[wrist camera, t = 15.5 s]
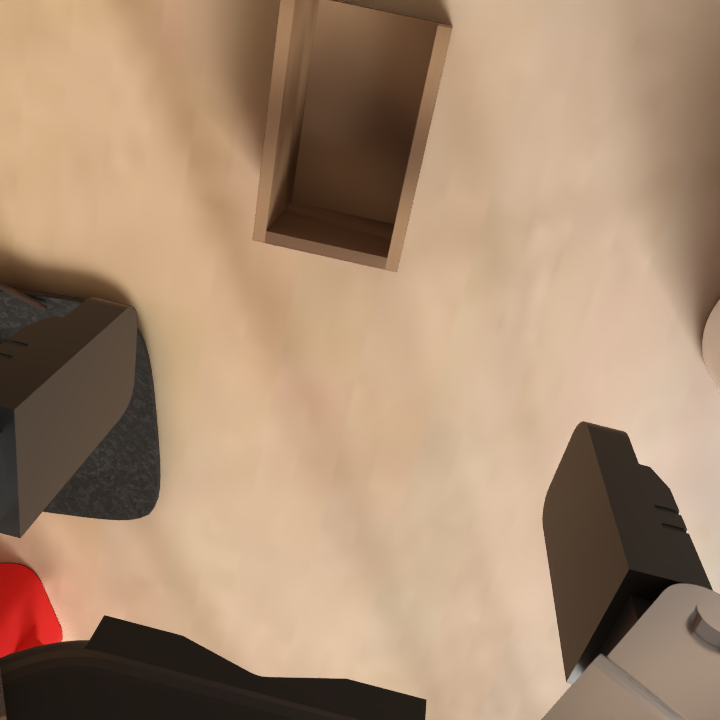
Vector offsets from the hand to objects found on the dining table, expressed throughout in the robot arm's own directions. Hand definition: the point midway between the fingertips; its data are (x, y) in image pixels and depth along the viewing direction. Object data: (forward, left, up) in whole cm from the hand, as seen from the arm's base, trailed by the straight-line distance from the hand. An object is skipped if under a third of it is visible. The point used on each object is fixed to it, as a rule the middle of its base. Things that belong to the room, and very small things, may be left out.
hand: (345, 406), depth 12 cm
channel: (0, -3, -21) cm, 21 cm away
